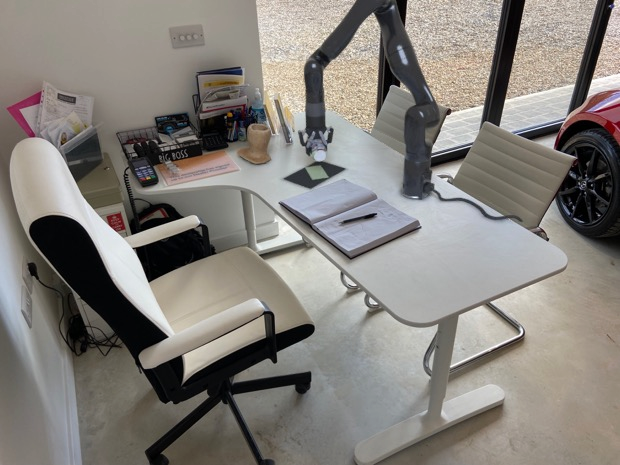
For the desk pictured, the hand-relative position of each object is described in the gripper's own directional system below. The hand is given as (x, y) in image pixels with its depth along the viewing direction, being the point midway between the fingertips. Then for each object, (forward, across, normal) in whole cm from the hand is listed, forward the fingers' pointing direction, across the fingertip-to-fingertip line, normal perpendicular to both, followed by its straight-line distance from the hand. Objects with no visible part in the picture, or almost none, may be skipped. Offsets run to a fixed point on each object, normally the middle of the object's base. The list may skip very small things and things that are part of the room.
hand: (316, 154), depth 194 cm
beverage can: (-2, 0, -7) cm, 7 cm away
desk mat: (+8, +1, +1) cm, 8 cm away
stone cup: (+8, +21, -22) cm, 31 cm away
